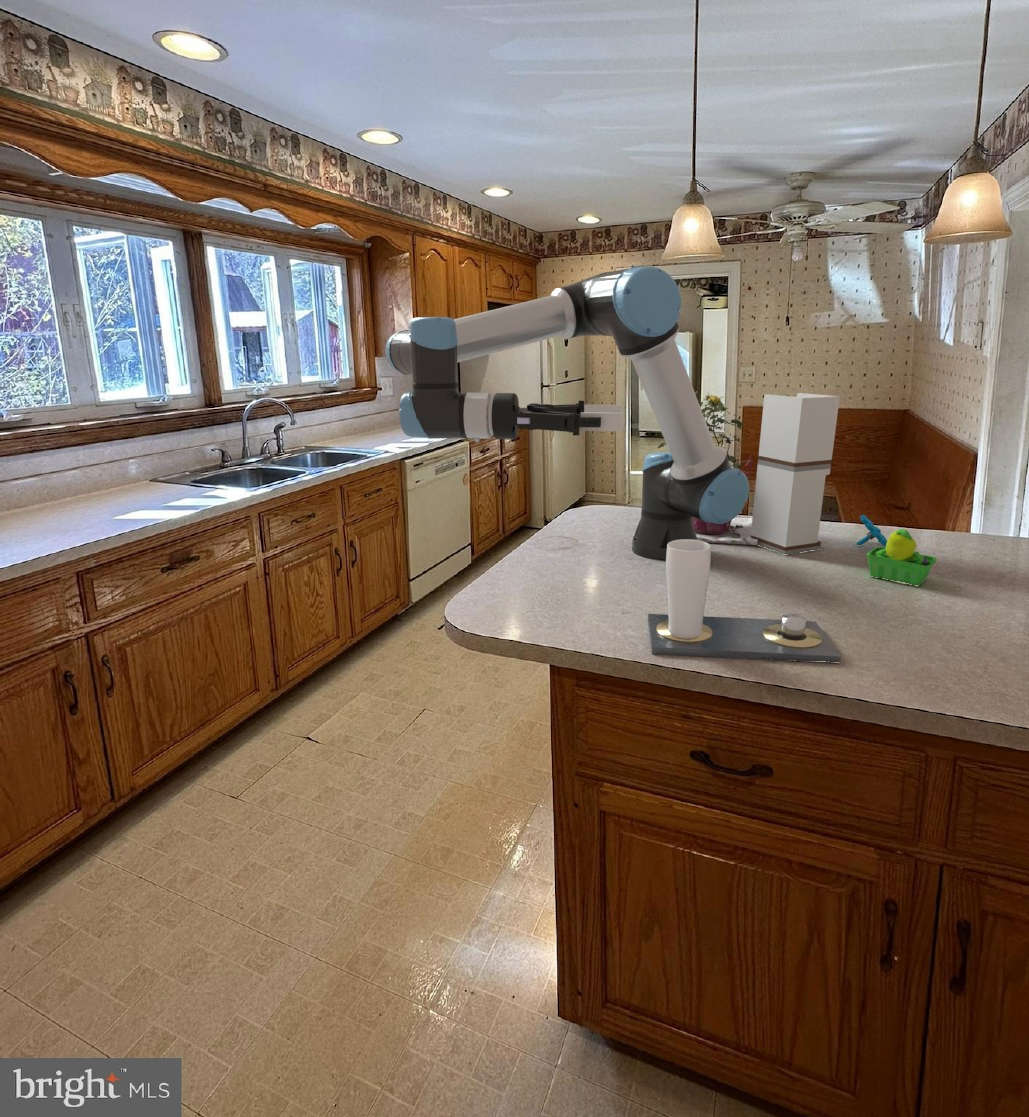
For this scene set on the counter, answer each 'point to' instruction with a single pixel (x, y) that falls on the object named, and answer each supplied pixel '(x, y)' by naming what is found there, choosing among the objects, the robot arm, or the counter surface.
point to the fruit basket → (900, 560)
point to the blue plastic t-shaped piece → (872, 532)
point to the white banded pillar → (793, 470)
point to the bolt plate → (747, 639)
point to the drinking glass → (687, 586)
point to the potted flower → (740, 524)
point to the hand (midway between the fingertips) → (622, 417)
